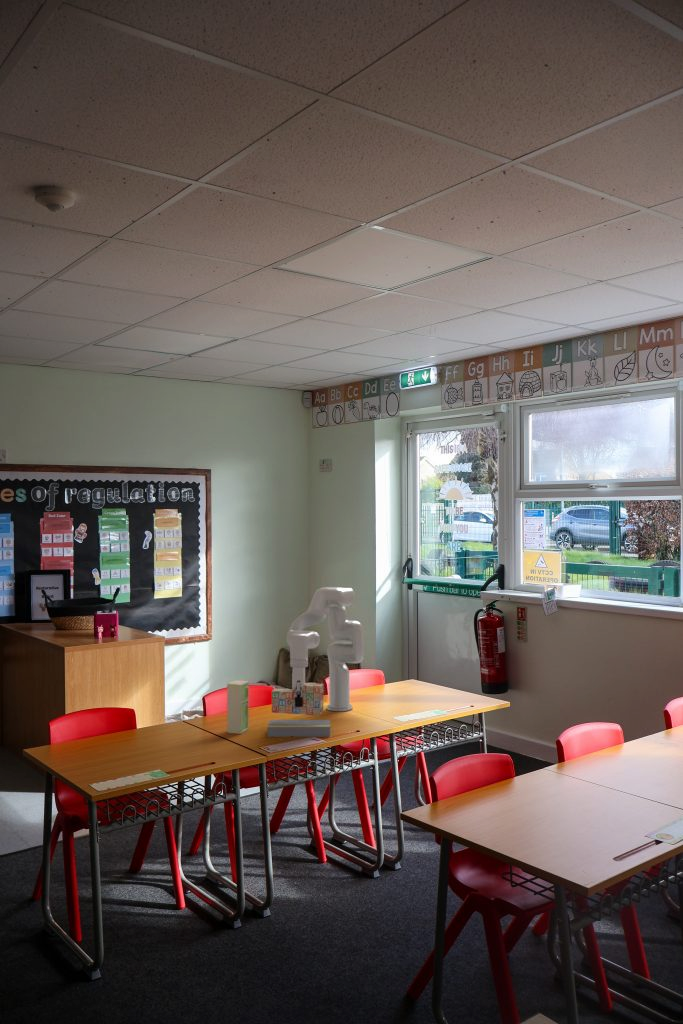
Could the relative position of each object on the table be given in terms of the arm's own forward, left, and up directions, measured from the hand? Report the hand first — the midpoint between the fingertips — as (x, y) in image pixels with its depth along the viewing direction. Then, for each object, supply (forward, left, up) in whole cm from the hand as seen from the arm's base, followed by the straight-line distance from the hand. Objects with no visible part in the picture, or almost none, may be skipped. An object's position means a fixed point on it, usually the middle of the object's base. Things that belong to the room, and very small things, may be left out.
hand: (299, 704), depth 362 cm
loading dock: (0, 0, -12) cm, 12 cm away
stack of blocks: (0, -1, -4) cm, 4 cm away
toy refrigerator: (-3, -26, -12) cm, 29 cm away
